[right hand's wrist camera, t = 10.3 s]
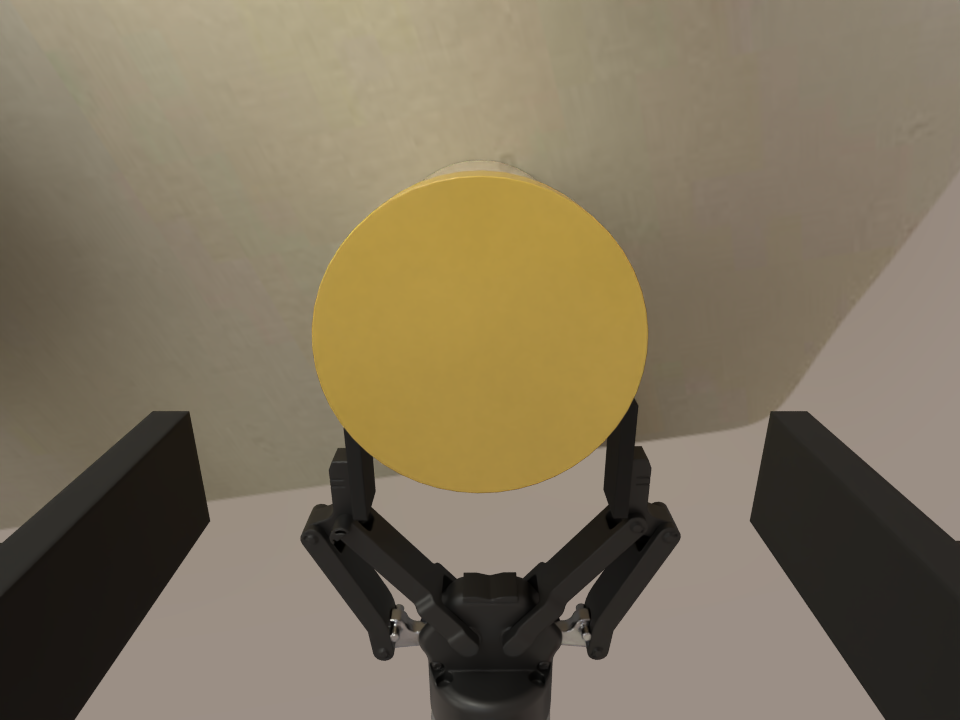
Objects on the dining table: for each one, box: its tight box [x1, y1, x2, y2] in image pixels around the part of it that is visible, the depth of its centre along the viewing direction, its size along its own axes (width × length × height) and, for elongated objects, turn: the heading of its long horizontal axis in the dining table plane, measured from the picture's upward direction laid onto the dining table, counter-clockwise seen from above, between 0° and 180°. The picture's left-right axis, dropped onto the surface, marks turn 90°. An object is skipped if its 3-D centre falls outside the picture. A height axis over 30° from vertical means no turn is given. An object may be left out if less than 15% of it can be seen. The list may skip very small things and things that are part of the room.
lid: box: [312, 170, 648, 493], centre depth 21 cm, size 11×11×2 cm
